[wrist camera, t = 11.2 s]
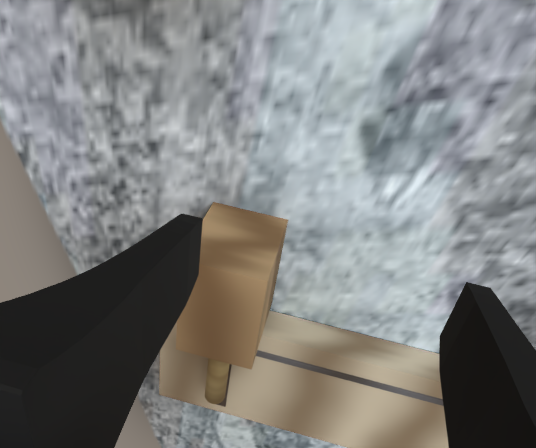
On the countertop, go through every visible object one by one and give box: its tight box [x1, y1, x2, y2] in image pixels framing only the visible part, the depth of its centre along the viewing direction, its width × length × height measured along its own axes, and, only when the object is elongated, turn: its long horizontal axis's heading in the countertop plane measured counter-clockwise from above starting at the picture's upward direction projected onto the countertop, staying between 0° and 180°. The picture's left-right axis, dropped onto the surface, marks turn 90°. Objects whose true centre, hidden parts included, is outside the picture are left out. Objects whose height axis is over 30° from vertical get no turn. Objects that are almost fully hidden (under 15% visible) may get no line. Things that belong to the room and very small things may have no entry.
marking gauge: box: [176, 202, 288, 404], centre depth 27 cm, size 4×11×5 cm, turn 172°
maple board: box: [159, 311, 449, 448], centre depth 30 cm, size 20×8×2 cm, turn 82°
